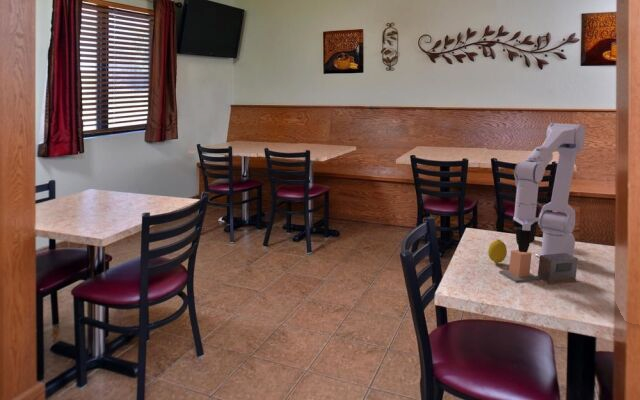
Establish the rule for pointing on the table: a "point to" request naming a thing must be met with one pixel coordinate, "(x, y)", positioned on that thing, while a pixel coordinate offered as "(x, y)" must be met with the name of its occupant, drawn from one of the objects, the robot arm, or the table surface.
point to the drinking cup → (536, 217)
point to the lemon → (497, 251)
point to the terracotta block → (520, 263)
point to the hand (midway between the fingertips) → (521, 247)
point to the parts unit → (557, 268)
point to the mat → (519, 279)
